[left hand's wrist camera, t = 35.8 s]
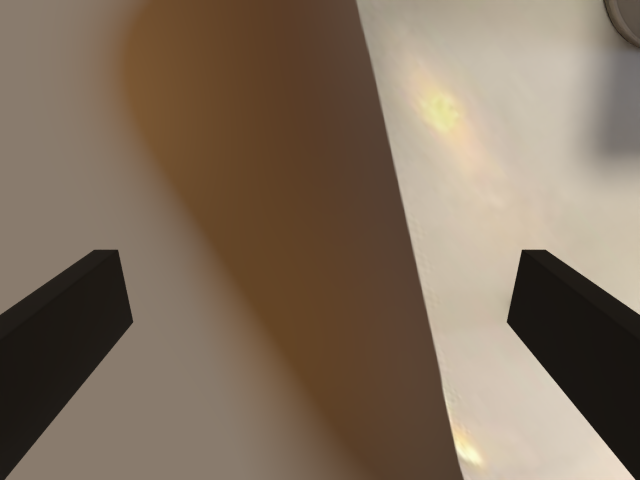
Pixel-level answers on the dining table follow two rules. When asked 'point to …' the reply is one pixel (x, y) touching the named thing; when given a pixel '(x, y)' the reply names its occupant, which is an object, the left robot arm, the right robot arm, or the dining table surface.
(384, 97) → the dining table surface
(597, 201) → the dining table surface
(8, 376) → the left robot arm
